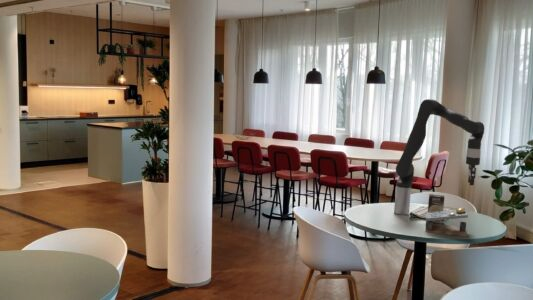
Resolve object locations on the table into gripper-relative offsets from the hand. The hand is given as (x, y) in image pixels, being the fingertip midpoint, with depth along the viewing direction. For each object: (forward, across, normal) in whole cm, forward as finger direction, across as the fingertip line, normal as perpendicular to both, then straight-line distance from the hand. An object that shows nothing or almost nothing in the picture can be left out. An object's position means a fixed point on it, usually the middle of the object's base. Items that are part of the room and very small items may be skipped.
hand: (470, 184), depth 315 cm
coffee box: (+26, -8, -18) cm, 33 cm away
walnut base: (+26, +12, -13) cm, 31 cm away
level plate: (+18, +11, -13) cm, 25 cm away
